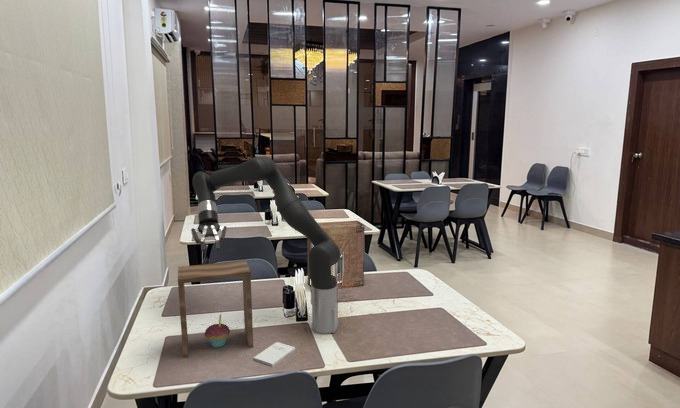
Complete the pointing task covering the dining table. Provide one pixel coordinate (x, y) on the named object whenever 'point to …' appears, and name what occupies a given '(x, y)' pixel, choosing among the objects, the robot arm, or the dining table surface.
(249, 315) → the wooden arch
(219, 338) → the cupcake
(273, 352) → the external hard drive
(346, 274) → the book
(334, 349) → the dining table surface
